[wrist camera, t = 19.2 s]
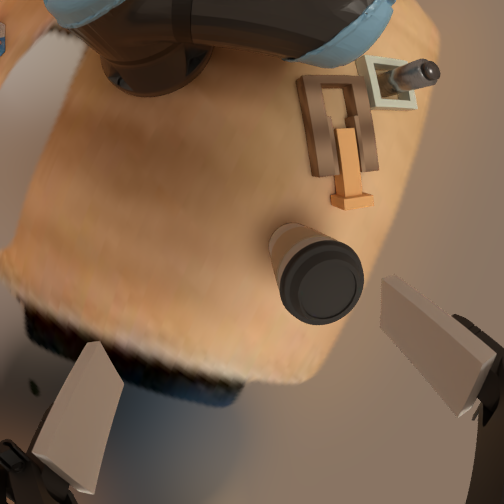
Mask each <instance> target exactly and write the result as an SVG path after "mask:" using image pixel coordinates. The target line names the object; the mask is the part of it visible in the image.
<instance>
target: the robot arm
mask: <svg viewBox="0 0 504 504" xmlns="http://www.w3.org/2000/svg"><path fill="white" fill-rule="evenodd" d="M395 2H396V0H44V4H45V7H46V8H47V10H48V11H49V12H50V13H51V14H52V15H53V16H54V17H55V18H56V19H57V22H58V24H59V25H60V26H61V27H63V28H64V27H65V28H67V29H68V30H70V31H71V32H72V33H74V34H75V35H76V36H77V37H79V38H80V39H81V40H83V41H84V42H85V43H86V44H88V45H89V46H90V47H91V48H92V49H94V50H95V51H96V52H97V53H99V54H100V58H101V63H102V67H103V70H104V73H105V75H106V76H107V78H108V79H109V80H110V81H111V82H112V83H113V84H114V85H115V86H116V87H118V88H119V89H121V90H122V91H124V92H126V93H128V94H131V95H134V96H140V97H155V96H161V95H165V94H168V93H171V92H173V91H176V90H178V89H180V88H182V87H183V86H185V85H187V84H188V83H189V82H191V81H192V80H193V79H195V78H196V77H197V76H198V75H199V74H200V73H201V71H202V70H203V69H204V67H205V66H206V64H207V63H208V61H209V59H210V56H211V53H212V49H213V46H217V47H225V48H232V49H238V50H244V51H250V52H255V53H260V54H265V55H269V56H274V57H278V58H281V59H282V60H284V61H287V62H301V63H306V64H310V65H314V66H318V67H321V68H335V67H338V66H344V65H347V64H349V63H351V62H352V61H354V60H356V59H357V58H359V57H360V56H361V55H362V54H364V53H365V52H366V51H367V50H368V49H369V48H370V47H371V46H372V45H373V44H374V43H375V41H376V40H377V39H378V38H379V37H380V35H381V34H382V32H383V31H384V29H385V28H386V26H387V24H388V22H389V20H390V18H391V16H392V13H393V9H392V7H391V6H392V5H393V4H394V3H395ZM381 280H382V282H381V283H382V284H381V316H380V328H381V329H382V330H383V331H384V333H385V334H386V335H387V336H388V337H389V338H390V339H391V340H392V341H393V342H394V344H395V345H396V346H397V347H398V348H399V349H400V350H401V352H402V353H403V354H404V355H405V356H406V357H407V358H408V360H410V362H411V363H412V364H413V365H414V366H415V368H416V369H417V370H418V371H419V372H420V373H421V375H422V376H423V377H424V378H425V379H426V380H427V382H428V383H429V384H430V385H431V386H432V388H433V389H434V390H435V391H436V392H437V394H438V395H439V396H440V397H441V398H442V400H443V401H444V402H445V403H446V404H447V406H448V407H449V408H450V409H451V411H452V412H453V413H454V414H455V416H456V417H457V418H458V417H460V416H461V415H462V414H464V413H465V412H467V411H468V410H469V409H471V408H472V406H473V404H474V402H475V401H476V398H478V399H479V400H480V401H481V403H480V405H479V406H478V408H477V410H476V412H475V413H474V415H473V418H472V420H475V418H476V417H477V415H478V413H479V415H478V433H477V443H476V451H475V459H474V465H473V472H472V477H471V482H470V487H469V491H468V496H467V500H466V504H504V348H503V347H502V346H500V345H499V344H498V343H497V342H495V341H494V340H493V339H492V338H491V337H489V336H488V335H487V334H486V333H484V332H483V331H481V329H479V328H478V327H477V326H474V324H473V323H472V322H470V321H469V320H468V319H466V318H464V317H462V316H459V315H456V314H454V315H452V316H450V315H449V314H448V313H447V312H445V311H444V310H443V309H441V308H440V307H439V306H438V305H436V304H435V303H434V302H432V301H431V300H430V299H428V298H427V297H426V296H424V295H423V294H421V293H420V292H419V291H417V290H416V289H415V288H413V287H412V286H411V285H409V284H408V283H406V282H405V281H404V280H402V279H401V278H399V277H398V276H397V275H395V274H394V275H391V276H388V277H385V278H382V279H381ZM123 386H124V383H123V381H122V380H121V378H120V376H119V375H118V373H117V371H116V370H115V368H114V366H113V364H112V363H111V361H110V359H109V357H108V356H107V354H106V352H105V350H104V348H103V346H102V344H101V343H100V341H97V342H90V343H87V344H86V346H85V347H84V349H83V351H82V353H81V354H80V356H79V358H78V359H77V361H76V363H75V365H74V367H73V369H72V370H71V372H70V374H69V376H68V377H67V379H66V381H65V383H64V385H63V387H62V389H61V391H60V392H59V394H58V396H57V398H56V400H55V402H54V403H52V404H51V406H50V407H49V408H48V409H47V410H46V412H45V413H44V415H43V418H42V421H41V422H40V424H39V426H38V429H37V430H36V432H35V435H34V437H33V439H32V441H31V443H30V446H29V448H28V450H27V453H26V454H25V453H24V452H23V451H22V450H21V449H20V448H19V447H18V446H17V445H16V444H15V443H14V442H13V441H12V440H9V439H5V440H2V441H1V442H0V504H8V503H7V502H6V497H8V498H9V499H10V500H12V501H13V502H15V504H78V503H77V501H76V499H75V497H74V495H73V494H72V492H71V491H70V490H68V488H69V485H71V486H72V487H74V488H75V489H77V490H78V491H80V492H84V493H89V494H94V493H95V488H96V483H97V479H98V474H99V470H100V466H101V462H102V457H103V454H104V450H105V446H106V443H107V439H108V435H109V431H110V428H111V425H112V421H113V418H114V414H115V411H116V408H117V404H118V401H119V398H120V395H121V392H122V388H123Z"/></svg>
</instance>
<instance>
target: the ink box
mask: <svg viewBox="0 0 504 504" xmlns="http://www.w3.org/2000/svg"><path fill="white" fill-rule="evenodd" d="M4 52H5V24H3V23H1V22H0V56H1V55H2V54H3V53H4Z"/></svg>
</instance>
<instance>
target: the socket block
mask: <svg viewBox="0 0 504 504" xmlns="http://www.w3.org/2000/svg"><path fill="white" fill-rule="evenodd" d="M296 84H297V89H298V94H299V99H300V104H301V110H302V115H303V121H304V126H305V132H306V138H307V144H308V151H309V157H310V164H311V171H312V176H315V177H326V176H334V175H340V173H339V165H338V158H337V150H336V144H335V137H334V131H333V125H332V119H331V117H327V115H326V109H325V104H324V99H323V94H322V89H321V88H343V93H344V98H345V103H346V108H347V114H348V118H345V124H346V128H354V129H355V136H356V143H357V150H358V157H359V166H360V172H368V171H378V170H379V165H378V156H377V148H376V140H375V133H374V127H373V120H372V114H371V109H370V103H369V98H368V93H367V88H366V84H365V79H364V76H348V75H302V76H301V77H300V78H299V79H298V80H297V81H296Z"/></svg>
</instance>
